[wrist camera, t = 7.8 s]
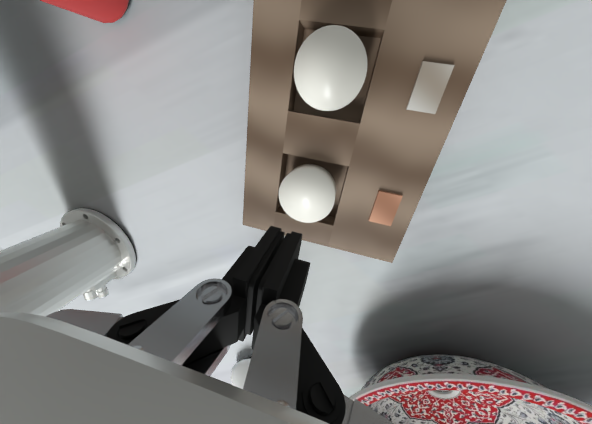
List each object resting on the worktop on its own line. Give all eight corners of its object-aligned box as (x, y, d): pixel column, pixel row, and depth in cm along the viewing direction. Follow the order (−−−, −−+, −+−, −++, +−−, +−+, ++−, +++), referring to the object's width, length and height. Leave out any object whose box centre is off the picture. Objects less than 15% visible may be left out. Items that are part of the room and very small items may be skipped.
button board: (387, 246, 25) (392, 264, 22) (253, 213, 27) (241, 225, 24) (580, -227, 11) (658, -342, 9) (284, -217, 14) (266, -306, 11)
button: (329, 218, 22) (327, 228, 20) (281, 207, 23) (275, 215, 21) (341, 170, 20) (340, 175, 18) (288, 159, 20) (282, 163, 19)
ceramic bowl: (353, 426, 41) (353, 491, 34) (320, 309, 31) (311, 368, 24) (556, 455, 32) (613, 552, 25) (603, 306, 22) (721, 398, 15)
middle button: (355, 115, 18) (355, 116, 16) (295, 105, 18) (289, 104, 17) (374, 39, 16) (377, 29, 14) (305, 30, 16) (299, 20, 14)
